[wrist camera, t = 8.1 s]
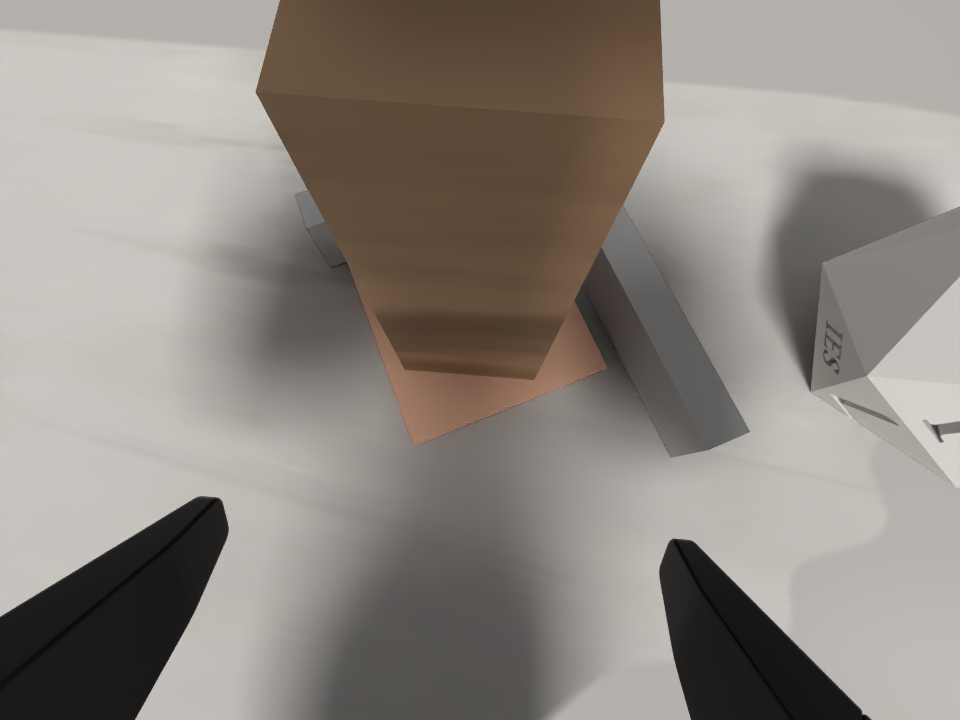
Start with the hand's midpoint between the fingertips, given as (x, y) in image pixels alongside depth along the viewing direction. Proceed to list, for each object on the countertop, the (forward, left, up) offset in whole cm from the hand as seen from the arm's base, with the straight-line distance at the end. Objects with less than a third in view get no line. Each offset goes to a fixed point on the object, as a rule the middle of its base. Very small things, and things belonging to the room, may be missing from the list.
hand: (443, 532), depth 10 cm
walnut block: (+7, -3, -8) cm, 11 cm away
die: (-1, -17, -8) cm, 19 cm away
